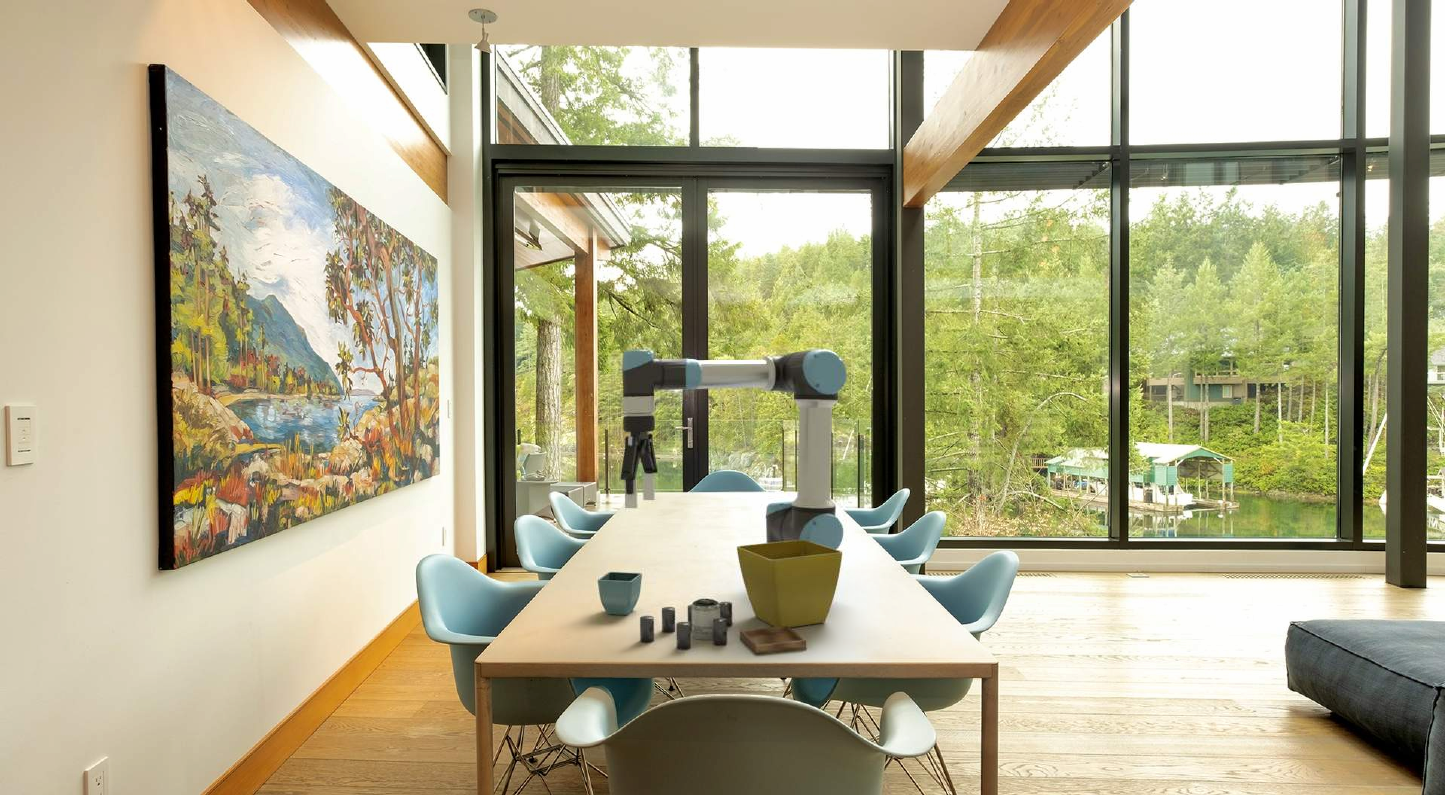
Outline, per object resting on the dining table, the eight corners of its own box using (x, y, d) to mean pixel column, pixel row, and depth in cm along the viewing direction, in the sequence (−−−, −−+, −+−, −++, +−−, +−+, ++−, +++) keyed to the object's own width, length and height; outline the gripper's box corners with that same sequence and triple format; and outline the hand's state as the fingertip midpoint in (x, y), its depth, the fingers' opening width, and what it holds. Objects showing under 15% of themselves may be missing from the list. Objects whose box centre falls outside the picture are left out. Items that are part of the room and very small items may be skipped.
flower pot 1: (632, 618, 189) (631, 581, 189) (597, 616, 191) (596, 579, 190) (643, 608, 197) (642, 572, 197) (609, 607, 199) (609, 571, 199)
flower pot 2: (736, 614, 191) (735, 545, 191) (804, 605, 199) (803, 538, 199) (771, 636, 174) (770, 560, 174) (845, 625, 181) (844, 552, 181)
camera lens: (711, 642, 170) (710, 605, 170) (686, 638, 173) (685, 602, 173) (725, 634, 175) (724, 599, 175) (701, 630, 178) (700, 595, 178)
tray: (787, 634, 175) (787, 626, 175) (806, 649, 164) (806, 640, 164) (740, 639, 172) (740, 630, 172) (756, 655, 161) (756, 646, 161)
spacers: (730, 622, 184) (729, 601, 184) (751, 642, 169) (750, 619, 169) (634, 632, 178) (634, 609, 178) (647, 653, 163) (647, 629, 163)
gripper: (640, 413, 201) (641, 496, 201) (605, 416, 177) (607, 511, 177) (668, 413, 199) (669, 497, 200) (637, 416, 175) (639, 512, 175)
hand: (640, 504), depth 188 cm, fingers open, 13 cm apart
